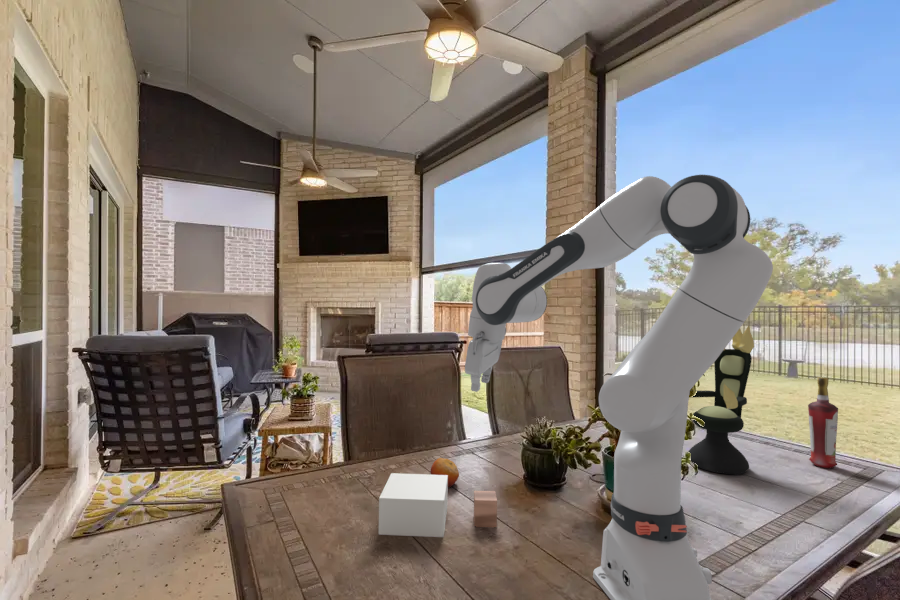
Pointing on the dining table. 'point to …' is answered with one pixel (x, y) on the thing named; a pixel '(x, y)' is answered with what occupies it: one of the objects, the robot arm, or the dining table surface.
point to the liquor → (823, 427)
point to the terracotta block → (485, 509)
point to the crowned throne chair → (725, 409)
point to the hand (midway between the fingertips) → (480, 386)
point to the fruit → (445, 470)
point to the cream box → (414, 505)
